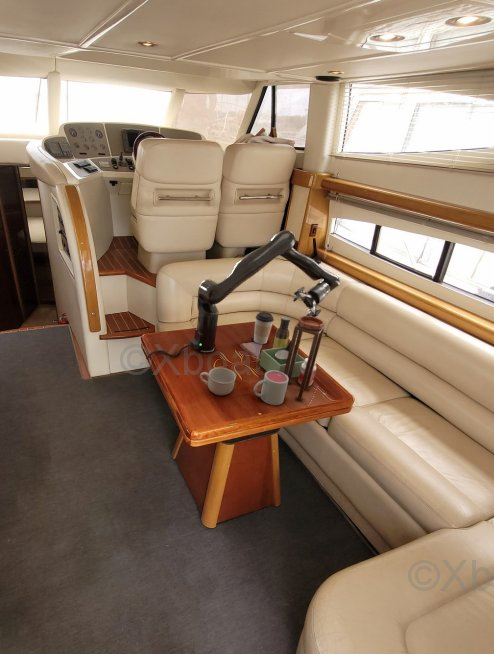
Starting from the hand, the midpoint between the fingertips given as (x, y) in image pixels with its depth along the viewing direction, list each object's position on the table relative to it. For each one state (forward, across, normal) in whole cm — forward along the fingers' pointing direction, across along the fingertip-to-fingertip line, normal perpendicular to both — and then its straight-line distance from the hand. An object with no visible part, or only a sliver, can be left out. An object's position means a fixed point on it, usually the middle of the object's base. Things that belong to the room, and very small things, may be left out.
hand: (301, 308), depth 166 cm
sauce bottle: (0, +13, +26) cm, 29 cm away
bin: (+11, +17, +20) cm, 29 cm away
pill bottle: (+13, +27, +12) cm, 32 cm away
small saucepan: (+3, +16, +19) cm, 25 cm away
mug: (+36, +20, +15) cm, 43 cm away
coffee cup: (-9, +3, +36) cm, 37 cm away
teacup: (+45, +5, +26) cm, 52 cm away
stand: (+23, +25, +12) cm, 36 cm away
